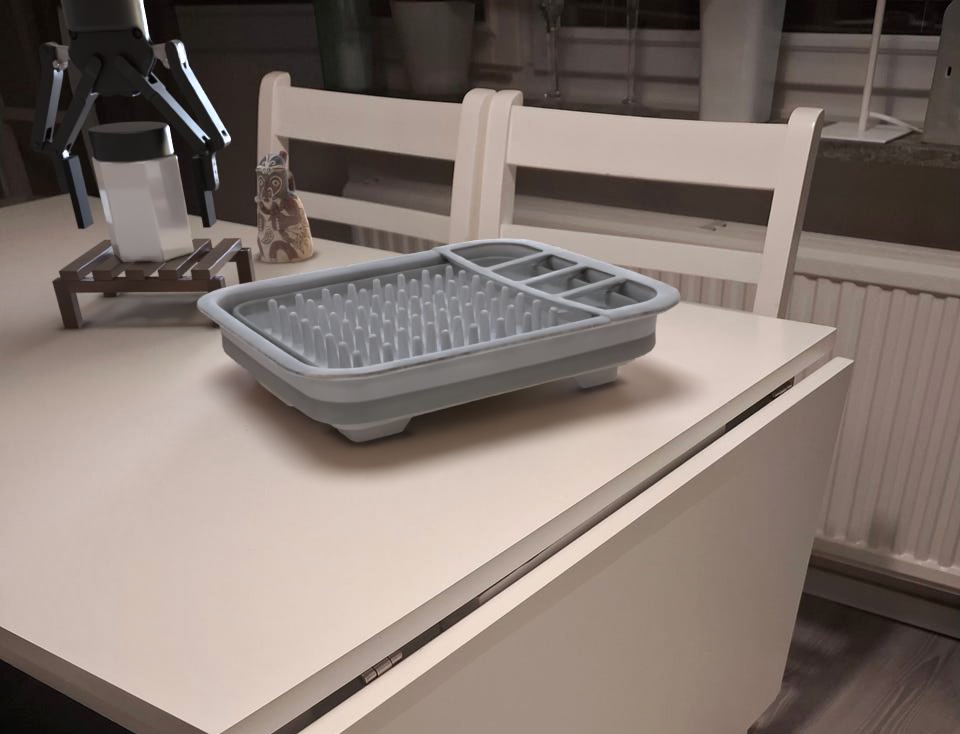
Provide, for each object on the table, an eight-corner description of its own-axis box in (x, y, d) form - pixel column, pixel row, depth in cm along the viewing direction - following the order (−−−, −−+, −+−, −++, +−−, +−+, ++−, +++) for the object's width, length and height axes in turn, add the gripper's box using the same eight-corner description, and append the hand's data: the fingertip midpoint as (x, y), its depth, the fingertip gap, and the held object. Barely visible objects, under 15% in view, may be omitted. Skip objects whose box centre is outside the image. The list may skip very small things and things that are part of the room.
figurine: (247, 260, 131) (231, 155, 124) (283, 248, 136) (270, 147, 128) (289, 266, 128) (276, 160, 121) (324, 254, 133) (313, 150, 125)
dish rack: (193, 368, 98) (176, 281, 93) (513, 306, 112) (513, 228, 107) (322, 483, 76) (309, 378, 71) (699, 388, 90) (709, 295, 85)
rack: (64, 330, 109) (49, 271, 105) (108, 294, 120) (95, 239, 116) (228, 329, 108) (218, 269, 104) (257, 293, 119) (249, 237, 115)
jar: (204, 244, 113) (182, 120, 106) (184, 262, 106) (159, 132, 99) (125, 245, 113) (98, 122, 106) (101, 263, 107) (70, 133, 100)
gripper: (237, -24, 97) (269, 216, 110) (-14, -19, 99) (48, 219, 112) (217, -22, 91) (254, 232, 105) (-49, -16, 93) (20, 234, 106)
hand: (147, 226), depth 108 cm, fingers open, 13 cm apart
